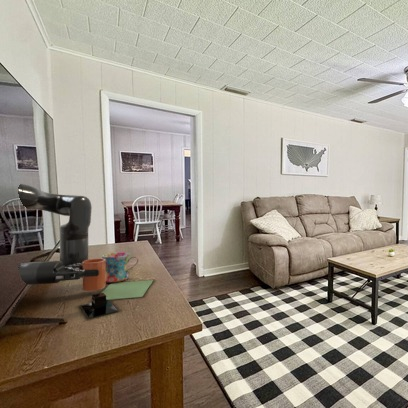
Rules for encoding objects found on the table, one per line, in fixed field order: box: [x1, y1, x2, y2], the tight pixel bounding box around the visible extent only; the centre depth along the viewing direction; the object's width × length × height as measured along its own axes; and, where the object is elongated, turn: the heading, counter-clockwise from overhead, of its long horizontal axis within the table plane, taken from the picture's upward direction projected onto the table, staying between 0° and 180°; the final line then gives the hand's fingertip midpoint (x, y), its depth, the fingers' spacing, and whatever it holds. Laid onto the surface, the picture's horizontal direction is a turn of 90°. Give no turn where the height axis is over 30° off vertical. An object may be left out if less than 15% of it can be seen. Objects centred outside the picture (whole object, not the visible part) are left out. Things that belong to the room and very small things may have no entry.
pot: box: [82, 257, 107, 292], centre depth 101 cm, size 6×6×10 cm
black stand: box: [80, 292, 119, 320], centre depth 90 cm, size 12×7×5 cm, turn 51°
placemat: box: [100, 279, 154, 301], centre depth 106 cm, size 18×14×1 cm
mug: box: [101, 252, 140, 284], centre depth 115 cm, size 12×9×11 cm
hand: (102, 269), depth 102 cm, fingers closed on pot, 6 cm apart
